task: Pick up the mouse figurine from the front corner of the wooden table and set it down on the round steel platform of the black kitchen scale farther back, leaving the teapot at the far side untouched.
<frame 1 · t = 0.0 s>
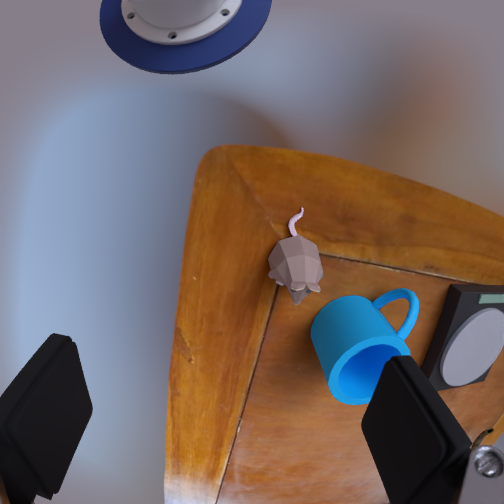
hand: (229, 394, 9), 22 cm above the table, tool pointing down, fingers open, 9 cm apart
mug: (358, 315, 33), on the table
mouse figurine: (295, 247, 31), on the table
kitchen scale: (466, 334, 35), on the table
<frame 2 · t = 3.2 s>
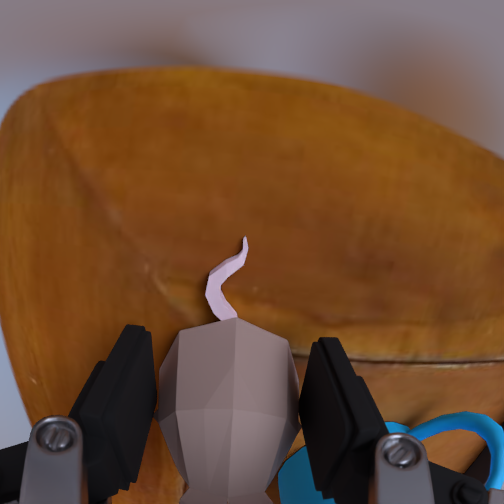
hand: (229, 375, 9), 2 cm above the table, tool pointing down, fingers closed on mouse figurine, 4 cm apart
mug: (375, 447, 14), on the table
mouse figurine: (232, 340, 11), on the table, touching gripper
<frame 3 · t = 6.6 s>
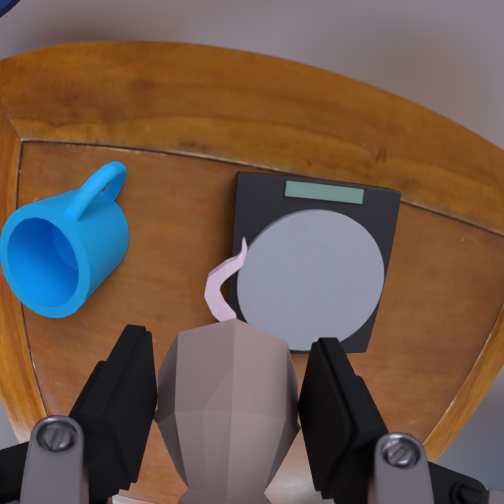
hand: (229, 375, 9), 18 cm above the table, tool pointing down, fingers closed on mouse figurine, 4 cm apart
mug: (99, 216, 25), on the table
mouse figurine: (231, 341, 11), point 16 cm above the table, touching gripper
kitchen scale: (307, 265, 27), on the table
when the fingers open (5 cm above the table, at t = 10.4 s): mouse figurine stays where it is, resting on kitchen scale.
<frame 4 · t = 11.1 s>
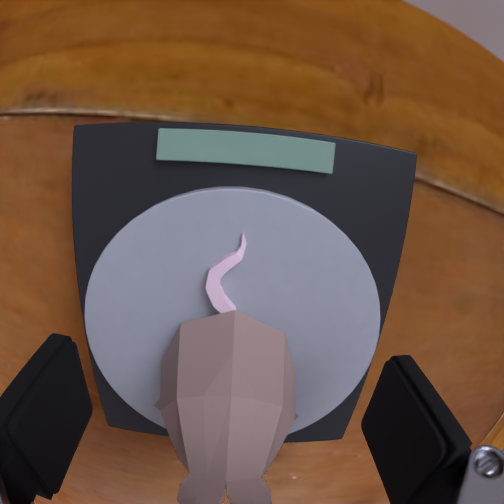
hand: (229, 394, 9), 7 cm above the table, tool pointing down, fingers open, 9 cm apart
mouse figurine: (231, 333, 12), point 3 cm above the table, touching kitchen scale
kitchen scale: (232, 298, 15), on the table
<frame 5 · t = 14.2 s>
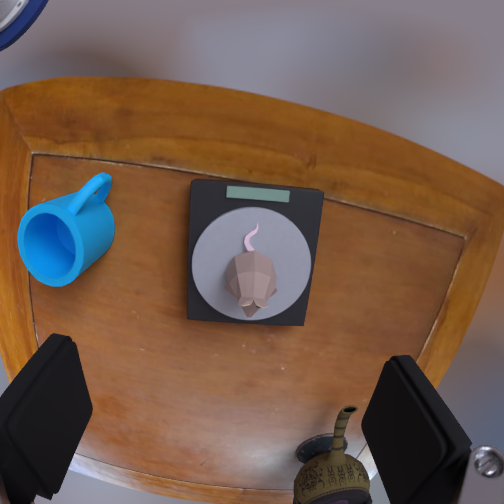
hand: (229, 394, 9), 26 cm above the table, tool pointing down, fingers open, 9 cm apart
mug: (92, 213, 33), on the table
teapot: (325, 436, 45), on the table
mouse figurine: (252, 261, 32), point 3 cm above the table, touching kitchen scale
kitchen scale: (251, 252, 35), on the table
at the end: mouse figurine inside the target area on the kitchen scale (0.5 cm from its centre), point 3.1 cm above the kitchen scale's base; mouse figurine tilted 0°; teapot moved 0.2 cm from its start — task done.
